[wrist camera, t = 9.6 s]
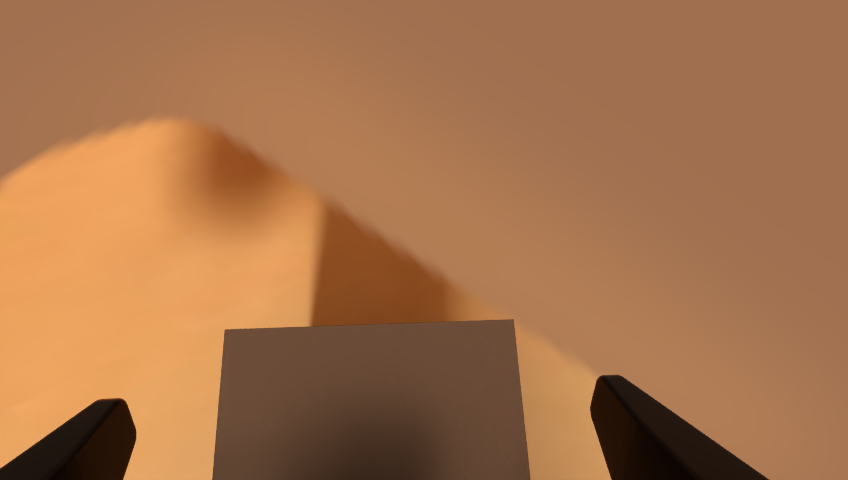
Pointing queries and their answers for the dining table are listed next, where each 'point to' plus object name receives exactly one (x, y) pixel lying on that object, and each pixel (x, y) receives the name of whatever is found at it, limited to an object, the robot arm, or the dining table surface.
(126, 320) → the dining table surface
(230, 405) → the grey rectangular block
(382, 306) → the dining table surface
